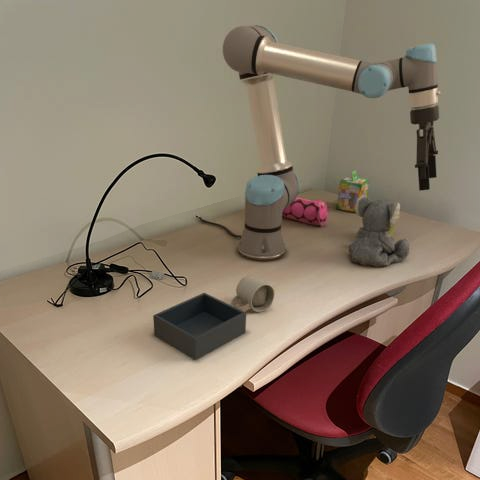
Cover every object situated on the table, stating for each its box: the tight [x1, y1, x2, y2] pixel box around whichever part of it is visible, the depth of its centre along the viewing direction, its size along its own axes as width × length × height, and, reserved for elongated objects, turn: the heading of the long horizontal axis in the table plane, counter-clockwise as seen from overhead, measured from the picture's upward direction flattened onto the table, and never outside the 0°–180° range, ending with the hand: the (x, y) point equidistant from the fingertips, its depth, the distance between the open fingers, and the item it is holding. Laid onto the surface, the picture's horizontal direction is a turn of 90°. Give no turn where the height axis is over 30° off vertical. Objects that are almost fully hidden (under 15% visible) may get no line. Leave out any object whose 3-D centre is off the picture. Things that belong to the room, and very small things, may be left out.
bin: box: [152, 292, 247, 361], centre depth 123 cm, size 14×16×6 cm
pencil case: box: [282, 196, 329, 227], centre depth 192 cm, size 21×10×10 cm, turn 57°
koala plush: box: [347, 196, 410, 267], centre depth 161 cm, size 17×18×20 cm
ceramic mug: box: [229, 275, 275, 313], centre depth 134 cm, size 11×8×8 cm
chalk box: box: [336, 169, 370, 213], centre depth 205 cm, size 9×9×15 cm
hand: (428, 183), depth 152 cm, fingers open, 13 cm apart
